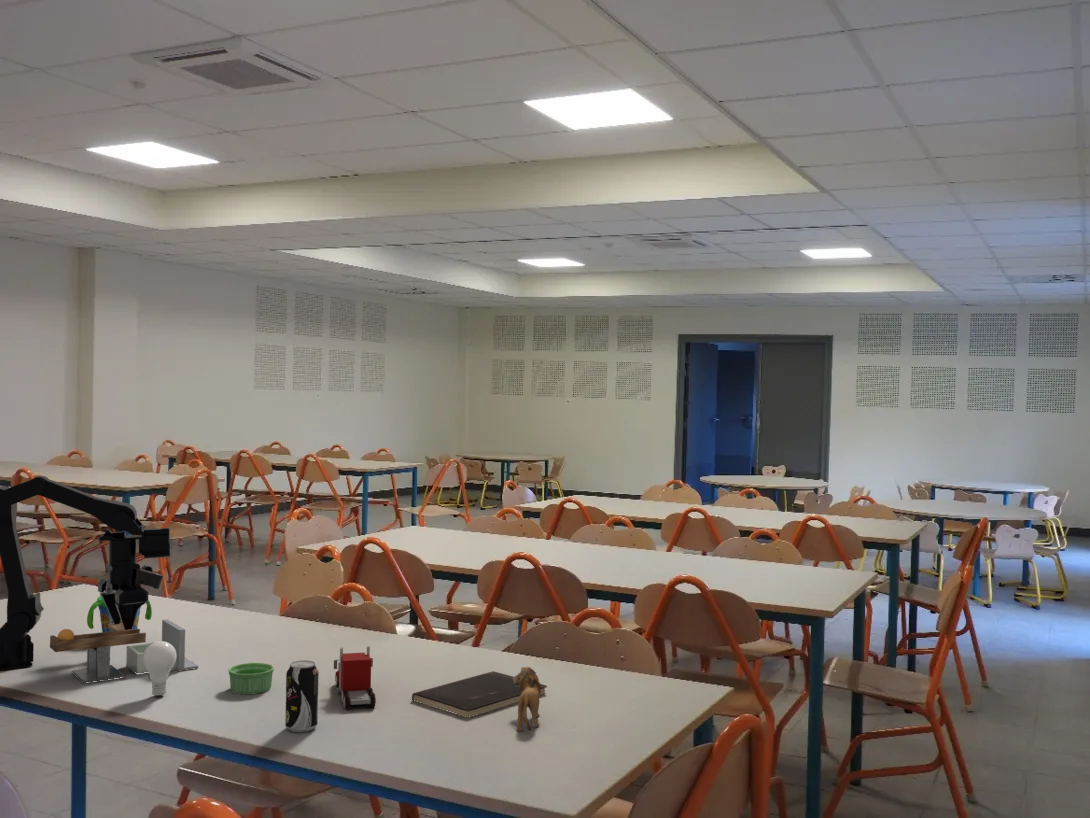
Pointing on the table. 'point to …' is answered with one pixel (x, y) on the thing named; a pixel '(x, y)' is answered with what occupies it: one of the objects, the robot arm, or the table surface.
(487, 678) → the hardcover book
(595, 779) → the table surface
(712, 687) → the table surface
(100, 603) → the snack cup
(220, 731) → the table surface
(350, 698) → the toy truck
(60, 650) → the lever
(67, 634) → the ball
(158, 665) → the lightbulb
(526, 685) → the lion figurine
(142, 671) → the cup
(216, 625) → the table surface
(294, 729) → the beverage can
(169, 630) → the backboard
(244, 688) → the ramekin
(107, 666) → the fulcrum
